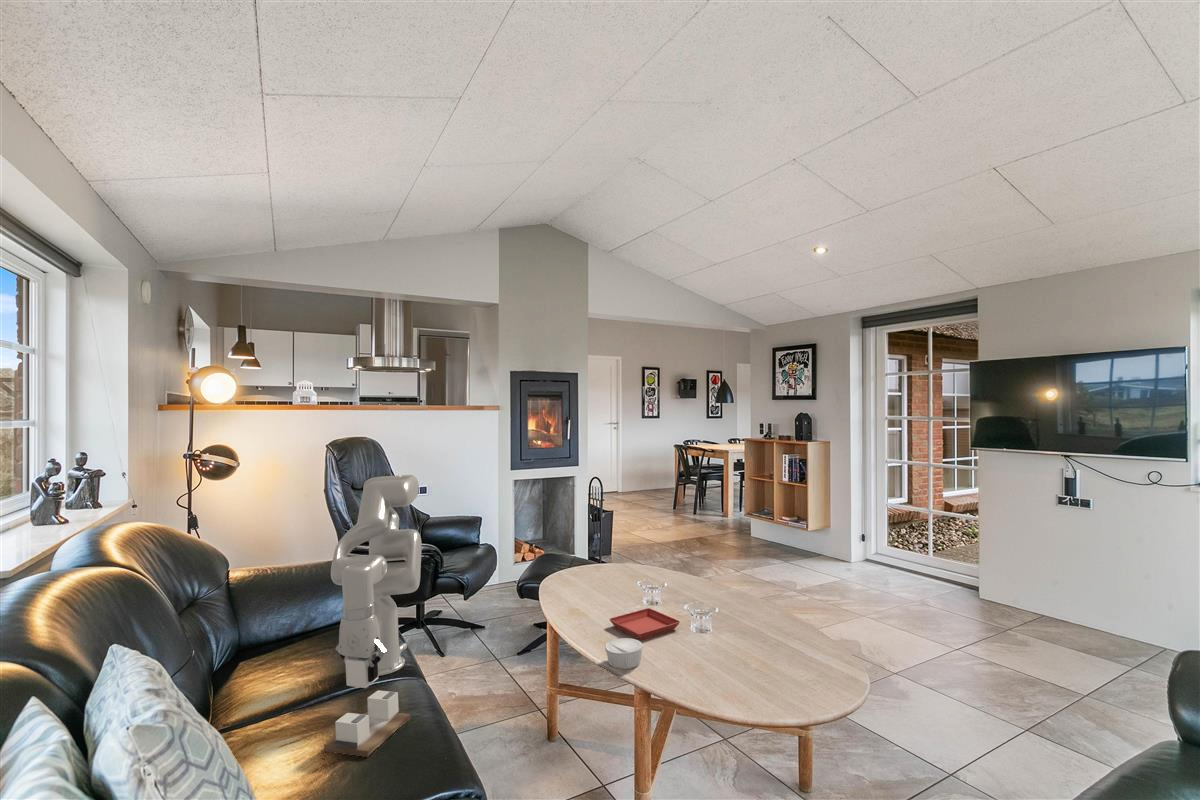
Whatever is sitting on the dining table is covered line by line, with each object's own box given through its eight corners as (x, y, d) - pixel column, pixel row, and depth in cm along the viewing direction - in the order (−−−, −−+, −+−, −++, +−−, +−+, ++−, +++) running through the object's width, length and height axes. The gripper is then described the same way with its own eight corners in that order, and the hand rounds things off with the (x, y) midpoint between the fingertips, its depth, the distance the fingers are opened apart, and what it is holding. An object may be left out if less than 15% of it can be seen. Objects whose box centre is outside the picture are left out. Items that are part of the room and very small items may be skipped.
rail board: (370, 715, 147) (369, 704, 147) (410, 720, 144) (410, 709, 144) (324, 751, 132) (323, 739, 132) (367, 758, 128) (367, 745, 128)
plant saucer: (649, 616, 210) (648, 607, 210) (681, 630, 194) (681, 620, 194) (608, 628, 200) (608, 618, 200) (639, 644, 185) (639, 634, 185)
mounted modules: (378, 709, 146) (377, 689, 146) (398, 711, 144) (397, 691, 144) (336, 742, 131) (335, 720, 131) (357, 745, 130) (357, 723, 130)
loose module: (359, 675, 155) (358, 650, 154) (378, 678, 153) (377, 652, 153) (346, 685, 150) (345, 658, 150) (365, 688, 148) (364, 661, 148)
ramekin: (600, 668, 168) (599, 650, 168) (613, 653, 178) (612, 636, 178) (636, 673, 164) (635, 655, 164) (647, 657, 174) (647, 639, 174)
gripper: (321, 614, 150) (325, 681, 150) (377, 619, 145) (381, 689, 145) (342, 603, 157) (345, 667, 157) (395, 608, 152) (399, 674, 153)
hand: (362, 677), depth 151 cm, fingers closed on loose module, 6 cm apart
